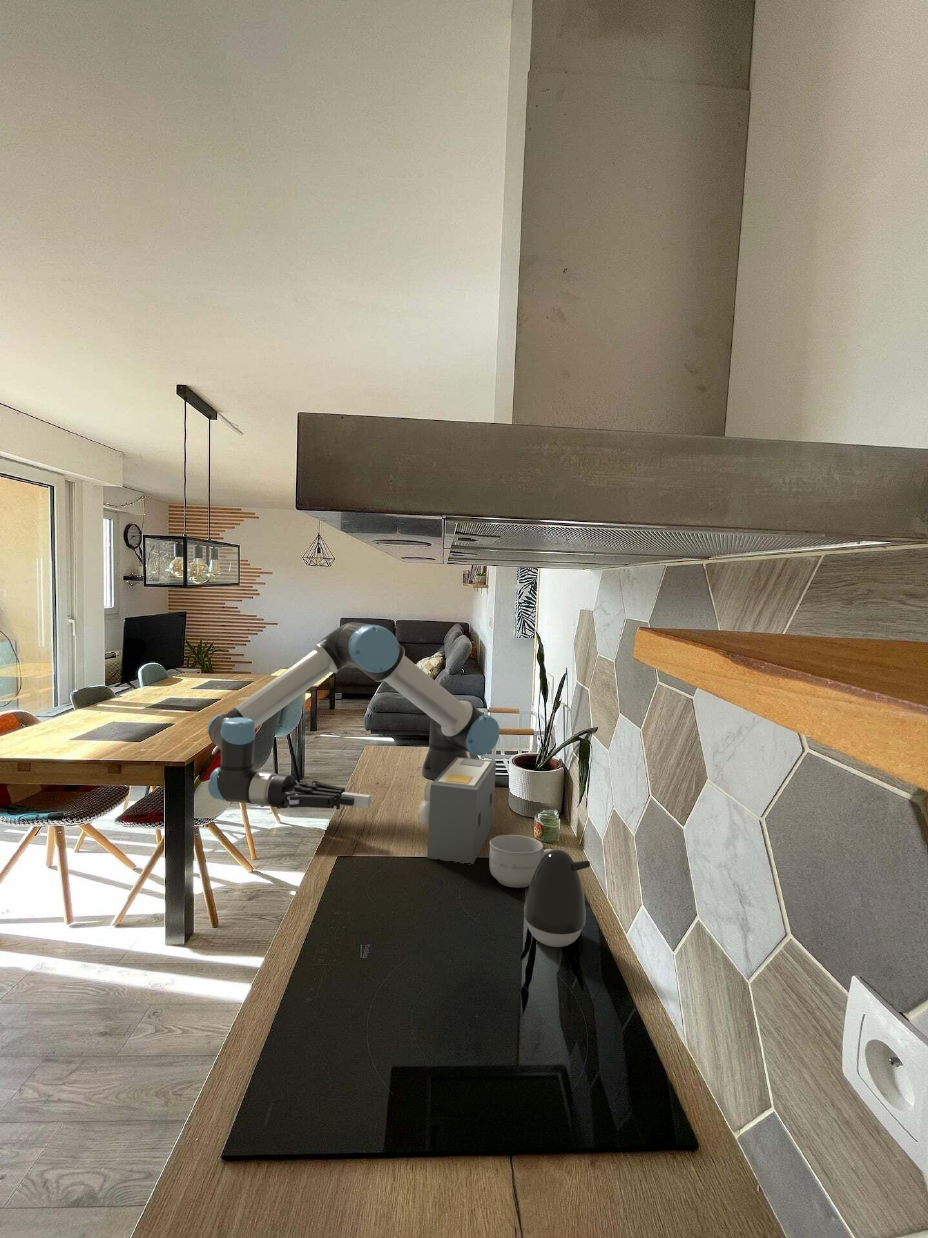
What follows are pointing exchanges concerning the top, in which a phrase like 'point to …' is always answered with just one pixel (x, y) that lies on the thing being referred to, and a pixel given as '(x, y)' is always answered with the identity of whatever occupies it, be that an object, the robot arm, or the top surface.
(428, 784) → the unmarked button
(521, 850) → the teacup
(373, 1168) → the top surface
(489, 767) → the box
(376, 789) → the top surface
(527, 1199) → the top surface
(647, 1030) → the top surface
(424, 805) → the marked button
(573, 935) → the pump dispenser
